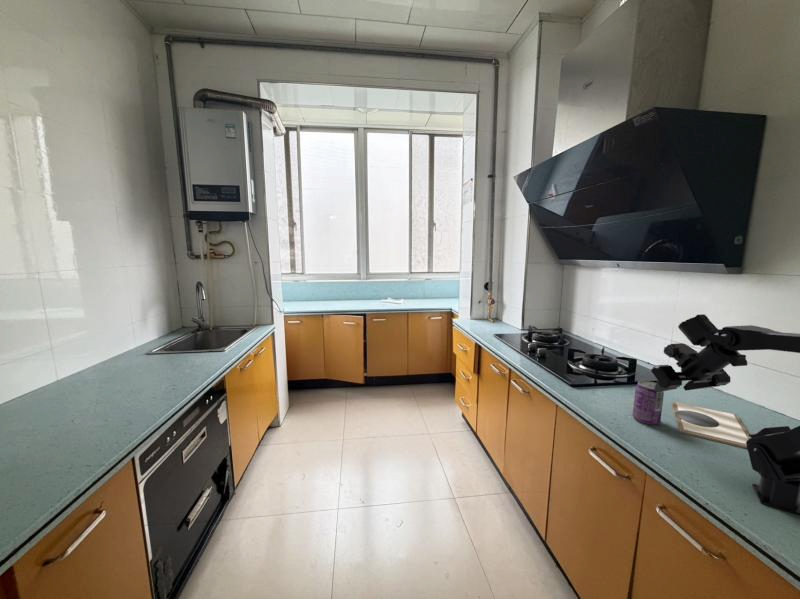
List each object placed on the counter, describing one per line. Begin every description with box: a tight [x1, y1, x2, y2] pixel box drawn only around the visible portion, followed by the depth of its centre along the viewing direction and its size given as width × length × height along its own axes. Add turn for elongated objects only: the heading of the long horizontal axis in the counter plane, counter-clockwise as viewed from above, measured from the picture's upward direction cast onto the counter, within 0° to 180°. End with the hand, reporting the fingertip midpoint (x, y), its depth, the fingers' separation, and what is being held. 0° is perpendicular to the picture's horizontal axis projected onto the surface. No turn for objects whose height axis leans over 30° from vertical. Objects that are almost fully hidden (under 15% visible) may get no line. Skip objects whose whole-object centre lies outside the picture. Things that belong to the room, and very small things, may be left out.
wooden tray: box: [671, 401, 752, 449], centre depth 100 cm, size 22×16×1 cm
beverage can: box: [632, 380, 665, 425], centre depth 102 cm, size 7×7×12 cm
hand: (670, 389), depth 94 cm, fingers open, 9 cm apart
